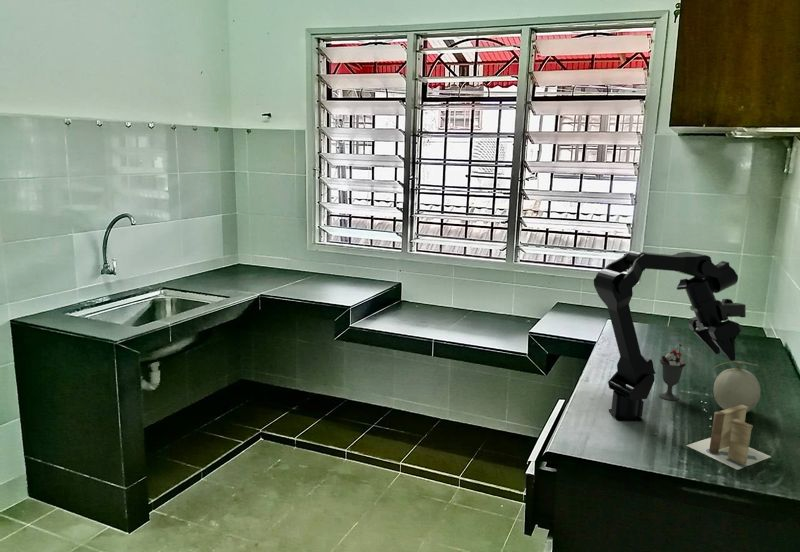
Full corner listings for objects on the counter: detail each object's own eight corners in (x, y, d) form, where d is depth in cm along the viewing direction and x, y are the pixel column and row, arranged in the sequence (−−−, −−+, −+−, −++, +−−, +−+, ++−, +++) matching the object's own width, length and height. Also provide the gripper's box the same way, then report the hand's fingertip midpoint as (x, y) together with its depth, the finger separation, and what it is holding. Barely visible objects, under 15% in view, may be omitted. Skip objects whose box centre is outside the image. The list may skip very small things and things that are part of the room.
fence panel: (720, 450, 133) (725, 413, 131) (714, 447, 134) (719, 411, 133) (742, 442, 137) (748, 406, 136) (736, 439, 138) (742, 404, 137)
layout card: (686, 446, 136) (686, 445, 136) (719, 435, 142) (719, 434, 142) (737, 470, 126) (737, 469, 126) (771, 457, 132) (771, 456, 132)
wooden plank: (707, 451, 134) (712, 412, 132) (712, 449, 134) (717, 411, 133) (742, 467, 127) (748, 426, 125) (747, 465, 128) (753, 425, 126)
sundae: (683, 396, 166) (690, 344, 163) (679, 404, 160) (686, 350, 158) (658, 390, 169) (664, 339, 167) (653, 398, 164) (659, 345, 161)
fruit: (712, 399, 165) (719, 346, 162) (760, 411, 157) (768, 356, 155) (702, 410, 157) (710, 355, 154) (752, 423, 149) (761, 366, 147)
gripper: (751, 291, 141) (775, 352, 142) (719, 285, 160) (740, 339, 160) (704, 308, 143) (728, 368, 143) (678, 300, 161) (699, 354, 162)
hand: (725, 356), depth 152 cm, fingers open, 9 cm apart
